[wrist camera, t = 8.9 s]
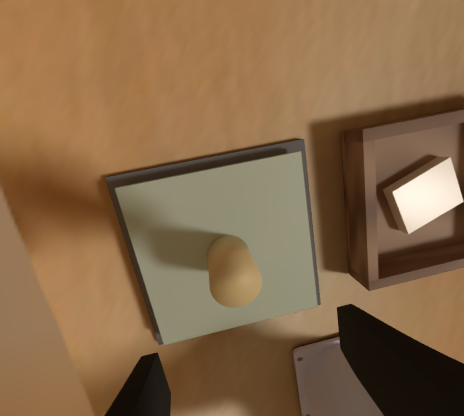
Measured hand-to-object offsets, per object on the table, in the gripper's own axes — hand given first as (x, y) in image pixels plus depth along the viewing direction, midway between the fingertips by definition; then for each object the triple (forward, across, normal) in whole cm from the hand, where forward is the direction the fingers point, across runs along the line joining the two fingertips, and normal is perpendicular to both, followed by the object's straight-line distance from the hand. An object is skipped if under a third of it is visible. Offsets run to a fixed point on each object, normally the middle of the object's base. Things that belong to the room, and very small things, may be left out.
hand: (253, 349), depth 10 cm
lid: (+10, 0, 0) cm, 10 cm away
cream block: (+10, -16, -1) cm, 19 cm away
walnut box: (+10, -16, -1) cm, 19 cm away
